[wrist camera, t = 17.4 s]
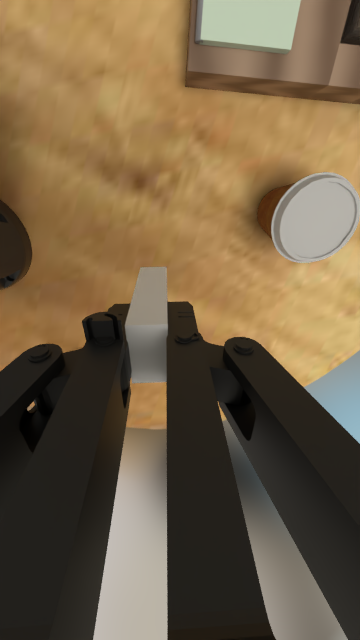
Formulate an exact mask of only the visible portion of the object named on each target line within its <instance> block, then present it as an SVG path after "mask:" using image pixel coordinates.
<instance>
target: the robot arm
mask: <svg viewBox="0 0 360 640" xmlns="http://www.w3.org/2000/svg"><path fill="white" fill-rule="evenodd" d="M31 257H32V251H31V244H30V240H29V237H28V234H27V232H26V230H25V228H24V226H23V224H22V223H21V221H20V220H19V218H18V217H17V216H16V215H15V213H14V212H13V211H12V210H11V209H10V208H9V207H8V206H7V205H6V204H5V203H3V202H2V201H1V200H0V290H3V289H5V288H8V287H10V286H11V285H13V284H15V283H16V282H18V281H19V280H20V279H22V278H23V277H24V275H25V274H26V273H27V271H28V269H29V267H30V263H31ZM82 324H83V328H84V333H85V337H86V343H85V345H84V347H83V348H82V349H78V350H75V351H70V352H66V353H63V352H62V348H61V347H59V346H58V345H55V344H42V345H37V346H35V347H32V348H30V349H28V350H27V351H25V352H23V353H22V354H21V355H20V356H19V357H17V358H16V359H15V360H14V361H12V362H11V363H10V364H9V365H8V366H6V367H5V368H4V369H3V370H2V371H0V640H93V635H94V629H95V622H96V616H97V609H98V603H99V597H100V590H101V583H102V577H103V570H104V564H105V557H106V551H107V545H108V539H109V532H110V526H111V519H112V513H113V506H114V499H115V493H116V486H117V480H118V473H119V467H120V461H121V454H122V448H123V441H124V435H125V428H126V422H127V415H128V409H129V402H130V396H131V389H130V378H132V383H151V382H167V571H168V572H167V573H168V574H167V580H168V582H167V585H168V586H167V587H168V640H276V639H275V637H274V635H273V632H272V629H271V626H270V624H269V620H268V617H267V613H266V609H265V605H264V600H263V596H262V592H261V587H260V583H259V579H258V575H257V570H256V566H255V562H254V557H253V553H252V549H251V544H250V540H249V536H248V531H247V527H246V523H245V518H244V514H243V510H242V505H241V501H240V497H239V493H238V488H237V484H236V480H235V475H234V471H233V467H232V463H231V458H230V454H229V449H228V445H227V441H226V436H225V432H224V428H223V423H222V419H221V415H220V410H219V406H218V402H219V405H220V407H221V409H222V411H223V413H224V415H225V416H226V418H227V420H228V422H229V423H230V425H231V427H232V429H233V431H234V433H235V434H236V436H237V438H238V440H239V442H240V444H241V445H242V447H243V449H244V451H245V453H246V455H247V456H248V458H249V460H250V462H251V464H252V465H253V467H254V469H255V471H256V473H257V474H258V476H259V478H260V480H261V482H262V484H263V486H264V487H265V489H266V491H267V493H268V495H269V496H270V498H271V500H272V502H273V504H274V505H275V507H276V509H277V511H278V513H279V515H280V517H281V518H282V520H283V522H284V524H285V525H286V527H287V529H288V531H289V533H290V535H291V537H292V538H293V540H294V542H295V544H296V545H297V547H298V549H299V551H300V553H301V555H302V557H303V558H304V560H305V562H306V564H307V565H308V567H309V569H310V571H311V573H312V575H313V577H314V578H315V580H316V582H317V584H318V586H319V588H320V589H321V591H322V593H323V595H324V597H325V598H326V600H327V602H328V604H329V606H330V608H331V609H332V611H333V613H334V615H335V617H336V618H337V620H338V622H339V624H340V626H341V627H342V629H343V631H344V633H345V635H346V637H347V638H348V640H360V444H359V443H358V442H357V441H356V440H355V439H354V438H353V437H352V436H351V435H350V434H349V433H348V432H347V431H346V430H345V429H344V428H343V427H342V426H341V425H340V424H339V423H338V422H337V421H336V420H335V419H334V418H333V417H332V416H331V415H330V414H329V413H328V412H327V411H326V410H325V409H324V408H323V407H322V406H321V405H320V404H319V403H318V402H317V401H316V400H315V399H314V398H313V397H312V396H311V395H310V394H309V393H308V392H307V391H306V390H305V389H304V388H303V387H302V386H301V385H300V384H299V383H298V382H297V381H296V380H295V379H294V378H293V377H292V376H291V375H290V374H289V373H288V372H287V371H286V370H285V369H284V367H283V366H282V365H281V364H280V363H279V362H278V361H277V360H276V359H275V358H274V357H273V356H272V355H271V354H270V353H269V352H268V351H267V350H266V349H265V348H264V347H263V346H262V345H261V344H259V343H258V342H256V341H255V340H252V339H250V338H246V337H234V338H231V339H228V340H227V341H226V342H225V344H224V346H219V345H214V344H210V343H208V342H206V341H204V340H203V337H202V336H201V334H200V333H198V329H197V324H196V319H195V315H194V310H193V306H192V305H191V304H190V303H189V302H167V269H166V267H141V268H140V271H139V275H138V279H137V282H136V286H135V290H134V293H133V297H132V301H131V304H114V305H113V306H112V307H111V308H109V309H108V312H99V313H95V314H92V315H89V316H88V317H86V318H85V319H84V320H83V321H82ZM33 401H34V403H35V406H34V407H33V408H32V409H31V410H29V411H27V407H29V405H30V404H31V403H32V402H33ZM217 401H218V402H217Z"/></svg>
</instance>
